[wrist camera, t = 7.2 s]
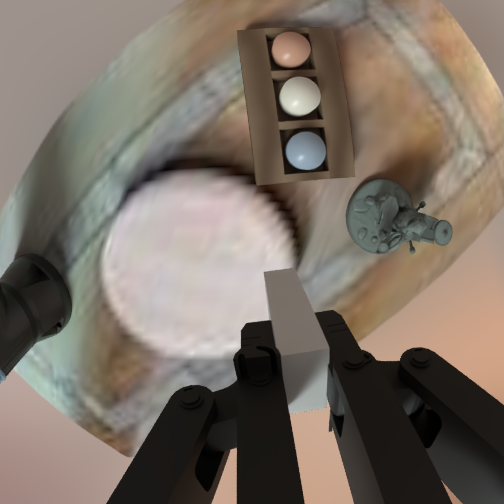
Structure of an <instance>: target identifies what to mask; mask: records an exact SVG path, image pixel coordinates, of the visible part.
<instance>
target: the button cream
mask: <svg viewBox="0 0 504 504" xmlns="http://www.w3.org/2000/svg"><path fill="white" fill-rule="evenodd" d="M278 99H279V104H280V107H281V108H282V110H283V111H284V112H285V113H287V114H289V115H291V116H294V117H302V116H305V115H307V114H309V113H310V112H311V111H313V110H314V109H315V108H316V107H317V106H318V105H319V103H320V99H321V94H320V90H319V88H318V86H317V85H316V84H315V83H314V82H313V81H312V80H310V79H308V78H305V77H293V78H291V79H289V80H288V81H286V82H285V84H284V85H283V87H282V89H281V91H280V93H279V98H278Z"/></svg>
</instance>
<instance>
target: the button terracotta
mask: <svg viewBox="0 0 504 504" xmlns="http://www.w3.org/2000/svg"><path fill="white" fill-rule="evenodd" d="M310 51H311V47H310V44H309V42H308V40H307V39H306V38H305V37H304V36H302V35H301V34H298V33H295V32H284V33H281V34H279V35H278V36H277V37H276V38H275V40H274V42H273V46H272V50H271V58H272V60H273V62H274V63H275V64H276V65H277V66H278V67H280V68H282V69H285V70H295V69H298V68H300V67H301V66H302V65H303V64H304V62H305V61H306V59H307V58H308V56H309V54H310Z"/></svg>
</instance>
